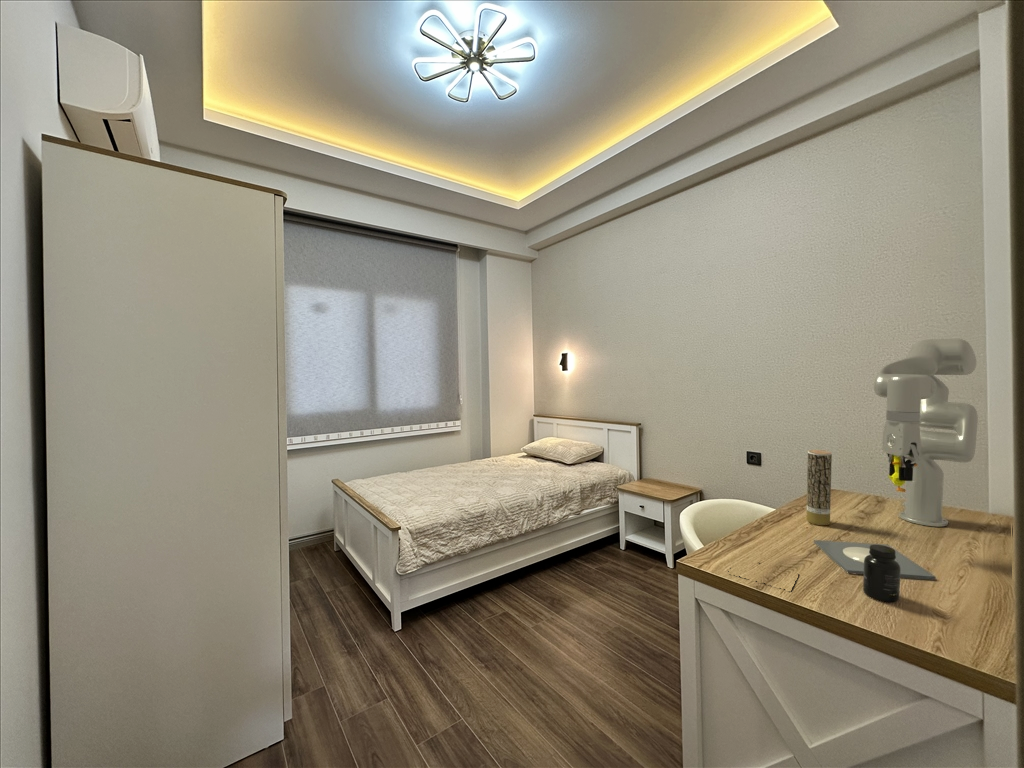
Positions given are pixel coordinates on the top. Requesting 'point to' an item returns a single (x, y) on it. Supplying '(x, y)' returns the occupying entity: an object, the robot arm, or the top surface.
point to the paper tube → (819, 487)
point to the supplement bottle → (881, 574)
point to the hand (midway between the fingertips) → (900, 478)
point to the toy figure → (897, 474)
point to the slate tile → (855, 553)
